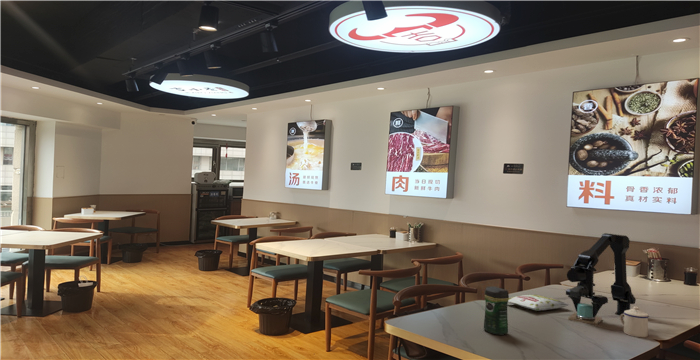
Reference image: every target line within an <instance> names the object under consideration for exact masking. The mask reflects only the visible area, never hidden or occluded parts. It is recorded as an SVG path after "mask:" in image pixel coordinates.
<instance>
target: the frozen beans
mask: <svg viewBox="0 0 700 360" xmlns="http://www.w3.org/2000/svg"><path fill="white" fill-rule="evenodd" d="M508 303H509V304H512V305H514V306H518V307H522V308H526V309H530V310H532V311H539V312H541V311H548V310H549V311H550V310H555V309H556V310H557V309H562V308H566V307H567V306H570V304H569V303H567V302H565V301H562V300H559V299H555V298H550V297H547V296H542V295H537V294H523V295H519V296H518V295H517V296H513V297H512V296H511V297H509V300H508Z"/></svg>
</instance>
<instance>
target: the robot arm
mask: <svg viewBox="0 0 700 360" xmlns="http://www.w3.org/2000/svg"><path fill="white" fill-rule="evenodd" d="M608 247H609V248H610V250H611V251H612V252H613V257H614V258H613V259H614V260H613V261H614V282H613V284H611V285H610V293H611V297H612V300H613V301H615V302H616V312H615V315H619V316H620V315H621V314H624V311H625V310H630V309H631V305H634V304H636V300H637V299H636V297H635V296H634V294H633V293H632V288H631V286H630V284H629V282H628V279H627V277H628V276H627V257H626V256H627V255H626V254H627V253H626V252H627V251H628V250H629V248H630V238H629V237H628V236H627V235H622V234H614V233H607V232H605V233H602V234H601V236H600V238H598V240H597V241H595V243H594V244H593V245H592V246H591V247H590V248H589V249H587V250H584V251H582V252H581V253H580V254H578V255H577V258H576V260H575V262H574V264H573V266H571V267H570V269H569V270H568V271H567V273H566V278H567V280H568V281H569V282H571V283H577V284H576V286H573V287H572V288H566V290H565V295H566V296H567V297H568V298H570V299H571V301H572V303H573V306H574V310H575V313H577V305H578V303H581V300H582V299H581V298H586V299H589V300H591V302H590V303H591V305H593V317H597V314H598V313H599V311H600V309H601V308H602V306H603V305H606V304H608V303H609V299H608V297H607V296H605V295H602V294H601V295H600V294H597V295H596V292H595V291H594V287H596V283H594V273H595V272H597V269H596V268H595V267H596V266H597V264H598V263H599V260H600V259H599V257H600V255H602V253H604V251H605V250H606V249H607V248H608Z"/></svg>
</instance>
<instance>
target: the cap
mask: <svg viewBox="0 0 700 360" xmlns="http://www.w3.org/2000/svg"><path fill="white" fill-rule="evenodd" d="M576 313H577V315H579V316H582V317H589V318H592V317H593V305H592V303H591V304H590V303H585V302H584V303H583V302H580V303H578V305H577V312H576Z"/></svg>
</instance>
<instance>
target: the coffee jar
mask: <svg viewBox="0 0 700 360" xmlns="http://www.w3.org/2000/svg"><path fill="white" fill-rule="evenodd" d="M509 295H510V294H509V291H508V290H507V289H504V288H500V287H498V286H492V285H491V286H486V288H485V290H484V300H485V307H484V309H485V310H484V320H483V330H484V331H485V330H486V332H488V333H490V334H493V335H500V336H503V335H504V334H505V335H506V334H508V333H509V322H508V303H509V302H508V300H509V298H510V296H509Z"/></svg>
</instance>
